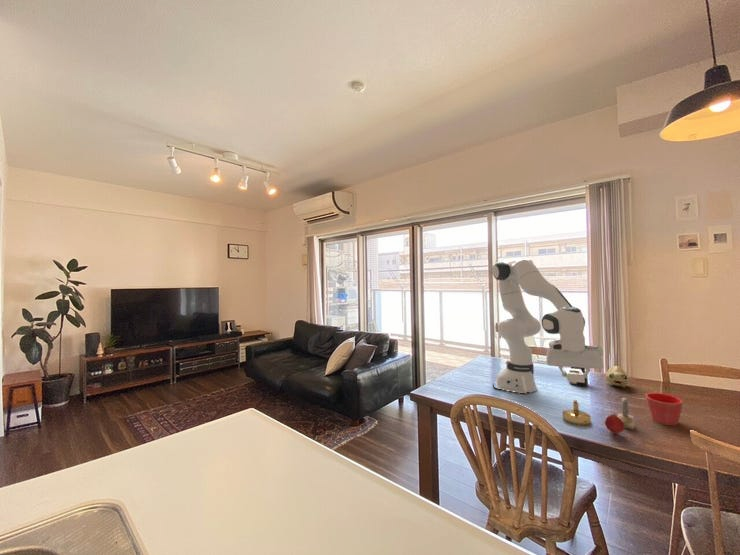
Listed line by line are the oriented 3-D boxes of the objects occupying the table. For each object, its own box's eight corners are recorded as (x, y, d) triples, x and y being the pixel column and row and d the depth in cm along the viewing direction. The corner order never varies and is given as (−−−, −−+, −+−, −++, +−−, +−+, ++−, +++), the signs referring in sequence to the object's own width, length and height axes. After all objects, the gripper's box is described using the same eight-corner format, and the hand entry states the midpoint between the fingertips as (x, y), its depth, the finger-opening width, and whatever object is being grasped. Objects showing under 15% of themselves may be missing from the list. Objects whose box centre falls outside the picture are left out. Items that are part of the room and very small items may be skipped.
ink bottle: (567, 380, 179) (566, 359, 179) (585, 381, 175) (584, 360, 175) (570, 386, 170) (569, 364, 170) (589, 387, 166) (588, 365, 166)
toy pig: (606, 388, 164) (605, 368, 164) (605, 381, 174) (604, 362, 174) (630, 391, 158) (629, 371, 158) (628, 384, 168) (627, 364, 168)
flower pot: (675, 430, 120) (674, 405, 120) (641, 418, 130) (640, 396, 130) (689, 423, 124) (687, 399, 124) (655, 413, 134) (654, 391, 134)
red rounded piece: (608, 436, 118) (607, 415, 118) (603, 429, 123) (602, 409, 123) (627, 438, 116) (626, 417, 116) (621, 431, 121) (620, 411, 121)
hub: (564, 423, 130) (563, 403, 130) (561, 413, 138) (560, 394, 138) (593, 427, 125) (592, 406, 125) (588, 417, 134) (587, 397, 134)
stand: (620, 427, 124) (618, 400, 124) (616, 422, 128) (615, 395, 128) (636, 429, 122) (634, 402, 122) (632, 424, 126) (630, 397, 126)
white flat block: (567, 381, 129) (567, 374, 129) (565, 374, 137) (564, 367, 137) (584, 382, 126) (584, 375, 126) (581, 375, 134) (580, 369, 134)
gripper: (600, 344, 130) (602, 377, 130) (545, 342, 139) (546, 372, 139) (604, 347, 124) (606, 382, 124) (546, 345, 133) (547, 377, 133)
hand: (574, 377), depth 132 cm, fingers closed on white flat block, 6 cm apart
